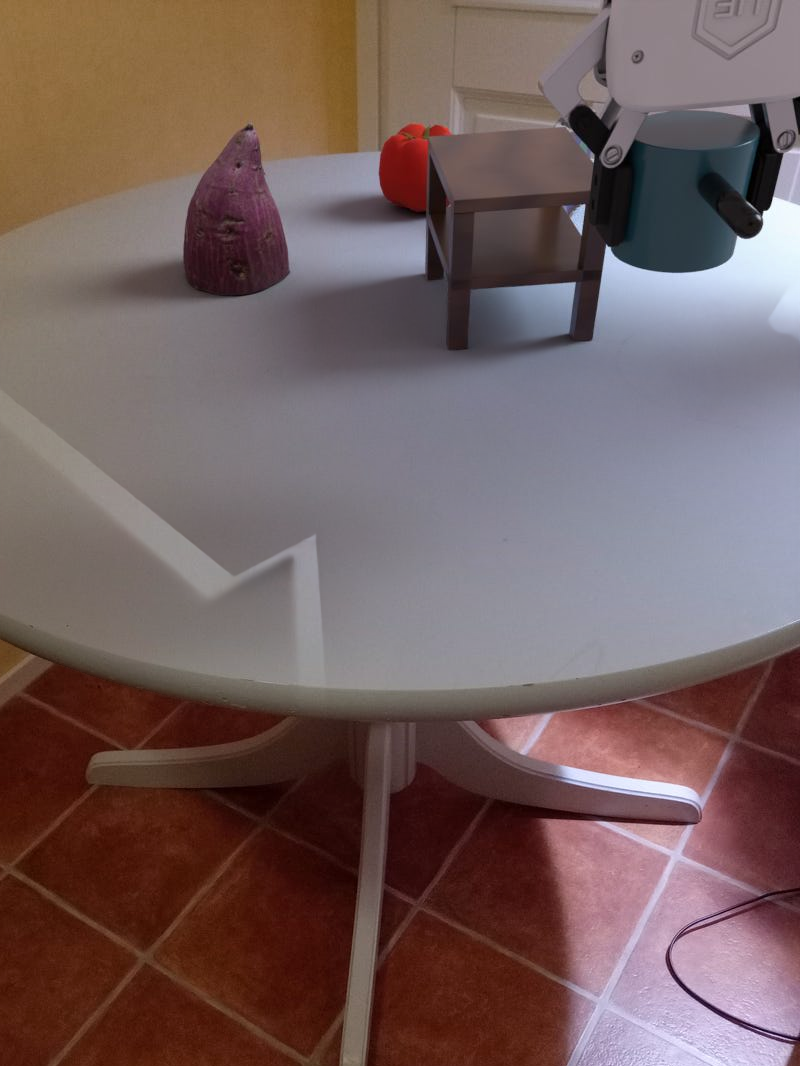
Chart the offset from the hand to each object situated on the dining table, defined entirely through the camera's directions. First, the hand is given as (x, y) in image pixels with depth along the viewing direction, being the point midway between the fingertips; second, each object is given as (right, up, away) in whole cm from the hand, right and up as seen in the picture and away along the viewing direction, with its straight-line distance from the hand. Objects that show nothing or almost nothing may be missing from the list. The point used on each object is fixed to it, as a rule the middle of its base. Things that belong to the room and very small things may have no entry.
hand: (674, 228), depth 52 cm
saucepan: (0, -3, -1) cm, 3 cm away
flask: (+6, +23, +50) cm, 55 cm away
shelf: (-3, +8, +35) cm, 36 cm away
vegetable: (-27, +14, +43) cm, 53 cm away
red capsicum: (-8, +25, +54) cm, 60 cm away
